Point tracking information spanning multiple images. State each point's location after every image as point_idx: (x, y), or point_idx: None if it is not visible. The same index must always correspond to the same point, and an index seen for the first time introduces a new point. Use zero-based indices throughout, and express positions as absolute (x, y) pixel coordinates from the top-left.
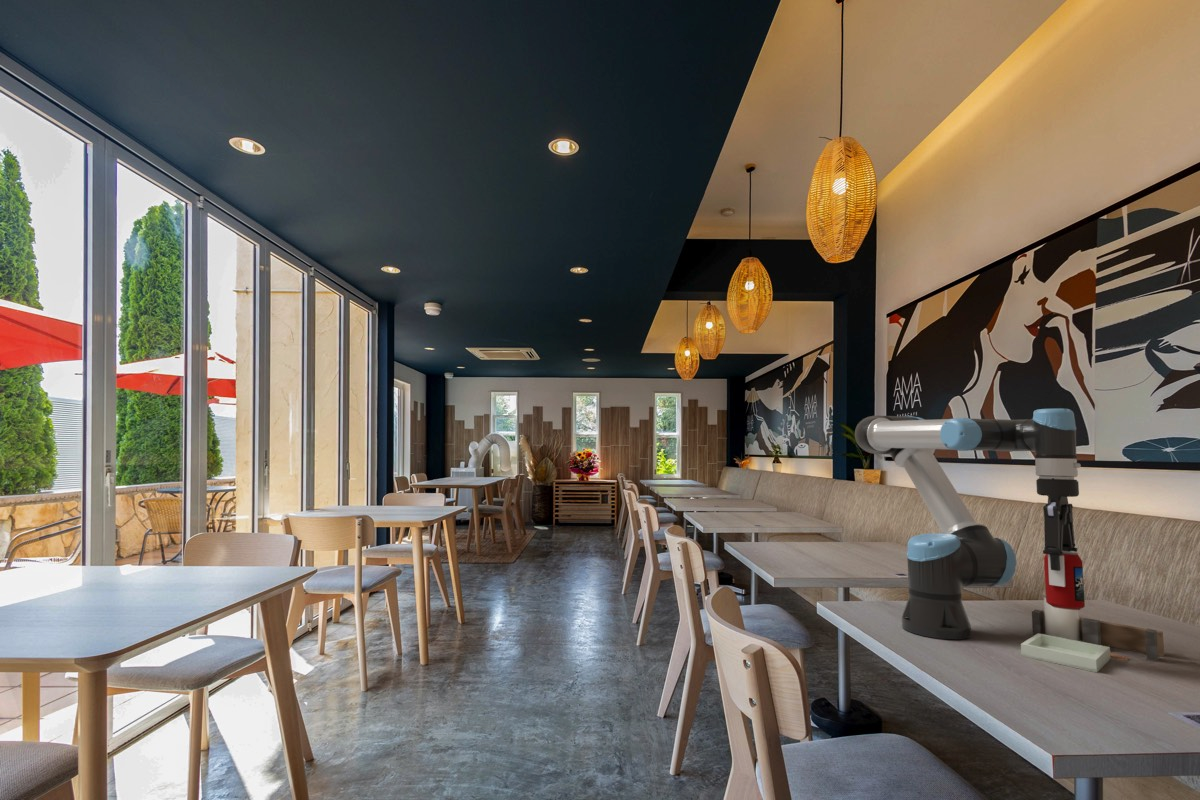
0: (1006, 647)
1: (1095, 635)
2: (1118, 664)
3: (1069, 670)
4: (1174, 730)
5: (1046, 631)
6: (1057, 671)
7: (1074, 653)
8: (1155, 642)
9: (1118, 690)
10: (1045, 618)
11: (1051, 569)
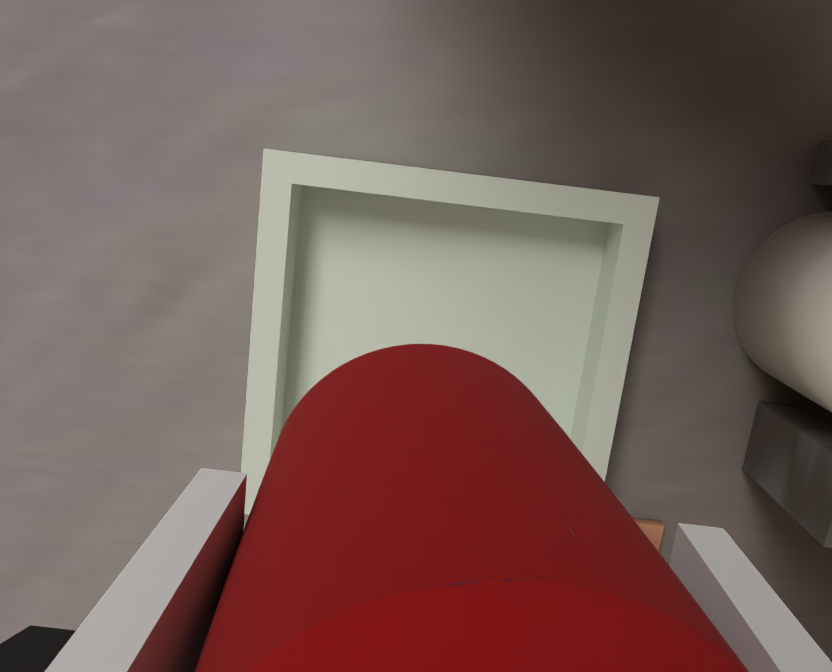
0: (415, 47)
1: (780, 494)
2: None
3: (189, 382)
4: None
5: (818, 226)
6: (121, 339)
7: None
8: None
9: (34, 564)
10: None
11: (24, 636)
